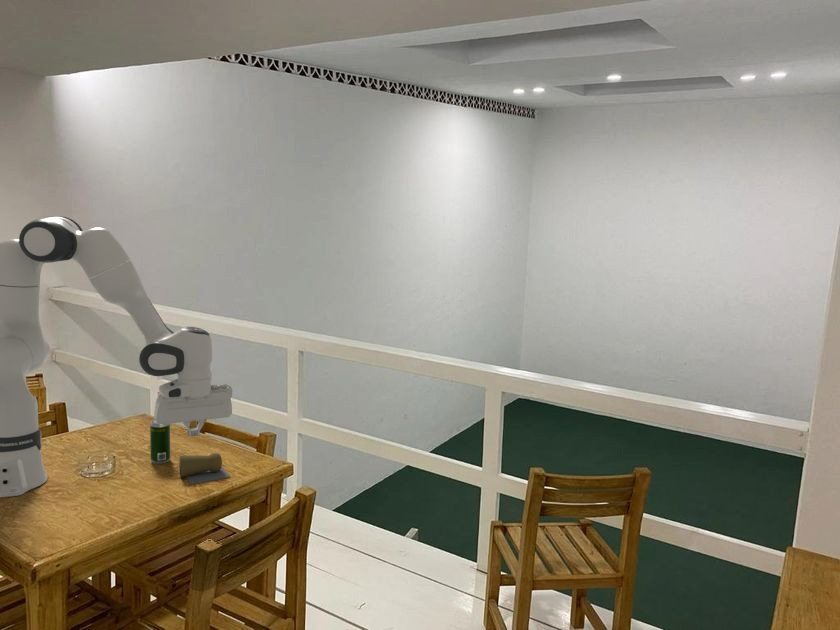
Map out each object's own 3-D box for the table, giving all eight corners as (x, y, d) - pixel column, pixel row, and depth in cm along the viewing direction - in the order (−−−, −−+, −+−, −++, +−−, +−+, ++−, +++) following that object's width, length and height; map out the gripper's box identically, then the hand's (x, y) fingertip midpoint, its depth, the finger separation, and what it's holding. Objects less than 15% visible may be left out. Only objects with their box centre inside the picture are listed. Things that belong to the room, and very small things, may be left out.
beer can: (173, 461, 195) (172, 422, 193) (154, 465, 191) (153, 425, 190) (166, 456, 199) (166, 417, 197) (148, 459, 195) (147, 420, 194)
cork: (179, 478, 186) (220, 473, 190) (181, 476, 180) (223, 471, 185) (178, 456, 187) (219, 452, 192) (180, 453, 182) (222, 449, 187)
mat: (191, 484, 179) (191, 482, 179) (182, 471, 188) (182, 470, 188) (230, 477, 185) (230, 476, 185) (219, 465, 193) (219, 464, 193)
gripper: (229, 380, 189) (227, 427, 191) (152, 386, 178) (152, 436, 180) (236, 386, 184) (234, 434, 186) (157, 392, 173) (157, 444, 175)
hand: (193, 435), depth 183 cm, fingers closed
